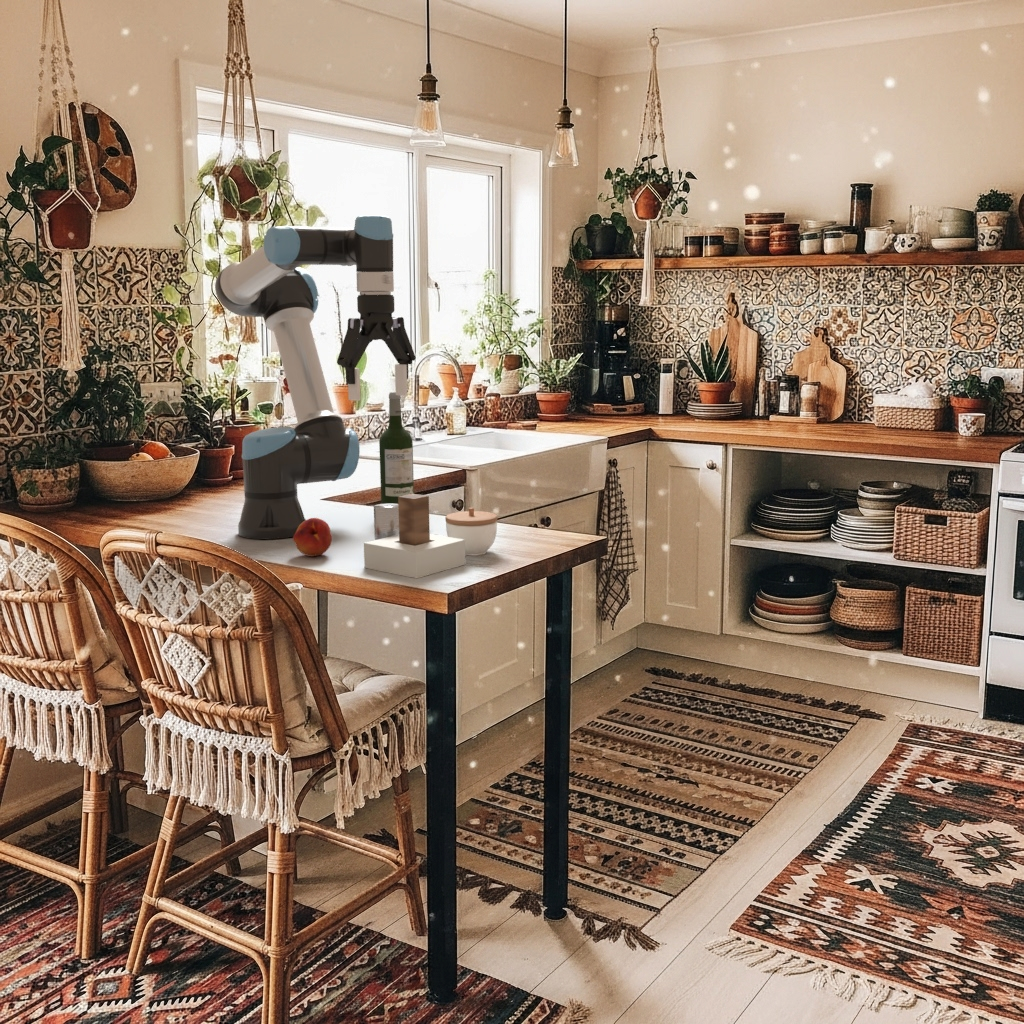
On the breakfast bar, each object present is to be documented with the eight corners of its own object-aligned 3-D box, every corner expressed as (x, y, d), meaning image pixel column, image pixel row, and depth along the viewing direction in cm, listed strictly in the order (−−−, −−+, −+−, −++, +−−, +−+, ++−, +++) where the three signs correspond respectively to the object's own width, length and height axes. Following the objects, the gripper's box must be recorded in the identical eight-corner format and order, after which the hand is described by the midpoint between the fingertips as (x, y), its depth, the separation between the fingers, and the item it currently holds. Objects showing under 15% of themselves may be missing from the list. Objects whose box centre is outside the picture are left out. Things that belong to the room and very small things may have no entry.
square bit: (400, 566, 223) (398, 496, 221) (414, 562, 227) (413, 493, 224) (415, 569, 221) (413, 498, 218) (430, 565, 224) (428, 495, 221)
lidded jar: (508, 551, 236) (508, 507, 234) (472, 560, 228) (472, 515, 226) (471, 544, 243) (470, 501, 241) (435, 553, 235) (434, 508, 233)
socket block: (364, 567, 223) (363, 542, 222) (413, 554, 233) (413, 531, 233) (416, 578, 214) (415, 552, 213) (465, 564, 225) (464, 539, 224)
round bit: (369, 554, 235) (367, 506, 233) (389, 549, 239) (388, 502, 237) (389, 558, 231) (388, 509, 229) (410, 552, 235) (409, 505, 234)
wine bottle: (392, 521, 268) (388, 394, 262) (375, 516, 274) (371, 392, 268) (420, 517, 272) (417, 392, 267) (403, 512, 279) (400, 390, 273)
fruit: (288, 560, 230) (286, 521, 229) (301, 551, 238) (300, 513, 236) (325, 561, 229) (324, 522, 227) (338, 552, 237) (336, 514, 235)
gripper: (342, 294, 220) (346, 403, 224) (430, 293, 239) (432, 394, 243) (316, 294, 224) (320, 401, 228) (405, 293, 243) (407, 392, 248)
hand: (378, 397), depth 236 cm, fingers open, 13 cm apart
